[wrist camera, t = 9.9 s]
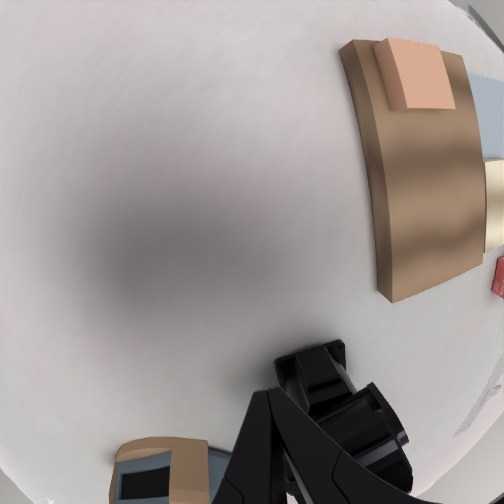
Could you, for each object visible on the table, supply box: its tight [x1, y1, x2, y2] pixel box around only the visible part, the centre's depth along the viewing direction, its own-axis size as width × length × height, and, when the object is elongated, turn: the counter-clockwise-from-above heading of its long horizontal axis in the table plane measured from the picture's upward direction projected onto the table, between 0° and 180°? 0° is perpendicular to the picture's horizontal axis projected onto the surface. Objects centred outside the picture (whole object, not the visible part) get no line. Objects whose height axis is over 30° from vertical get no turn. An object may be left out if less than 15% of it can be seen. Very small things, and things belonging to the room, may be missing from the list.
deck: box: [339, 40, 485, 304], centre depth 18 cm, size 20×12×2 cm, turn 13°
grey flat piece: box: [452, 354, 504, 438], centre depth 36 cm, size 25×24×1 cm
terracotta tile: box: [373, 38, 456, 111], centre depth 14 cm, size 5×5×2 cm
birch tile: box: [483, 157, 504, 253], centre depth 20 cm, size 9×6×2 cm, turn 13°
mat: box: [467, 73, 504, 159], centre depth 20 cm, size 18×14×1 cm
